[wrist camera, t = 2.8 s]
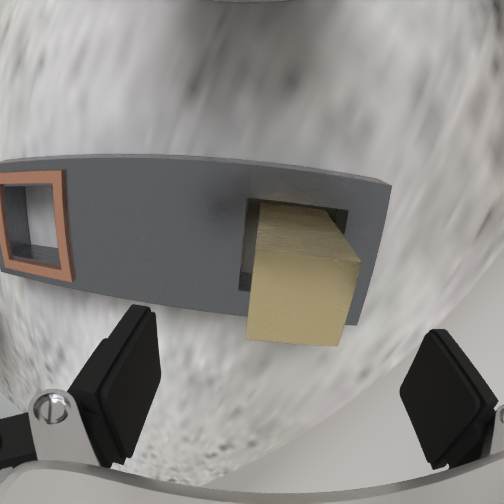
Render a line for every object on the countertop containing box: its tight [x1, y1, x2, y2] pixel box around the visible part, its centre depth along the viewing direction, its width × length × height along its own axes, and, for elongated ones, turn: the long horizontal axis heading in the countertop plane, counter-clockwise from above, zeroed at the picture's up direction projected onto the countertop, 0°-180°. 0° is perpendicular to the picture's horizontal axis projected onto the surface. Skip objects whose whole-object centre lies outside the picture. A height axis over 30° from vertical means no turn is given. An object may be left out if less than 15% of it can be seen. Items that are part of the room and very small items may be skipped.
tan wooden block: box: [245, 203, 361, 346], centre depth 15 cm, size 4×4×8 cm
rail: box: [0, 154, 392, 325], centre depth 18 cm, size 28×9×3 cm, turn 84°
